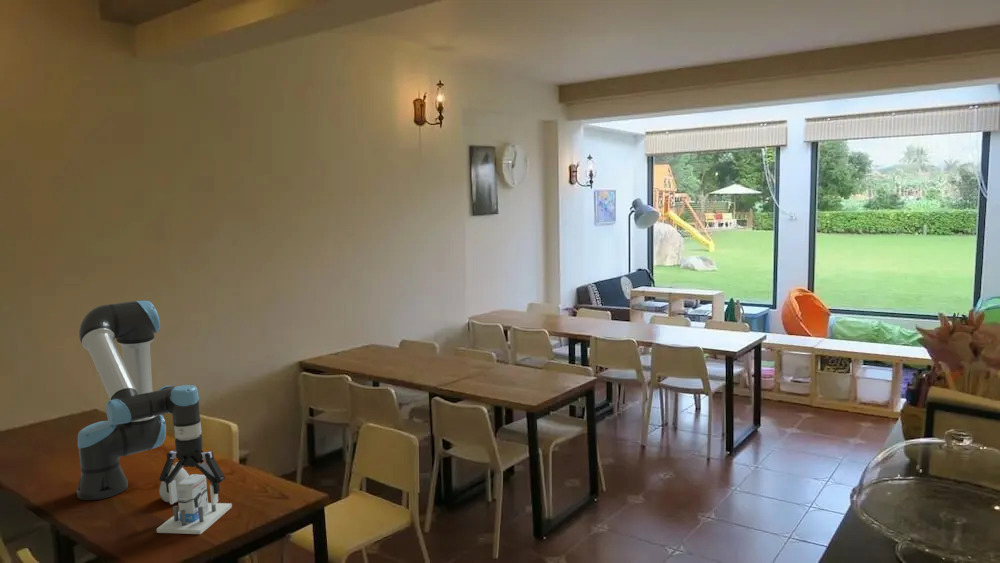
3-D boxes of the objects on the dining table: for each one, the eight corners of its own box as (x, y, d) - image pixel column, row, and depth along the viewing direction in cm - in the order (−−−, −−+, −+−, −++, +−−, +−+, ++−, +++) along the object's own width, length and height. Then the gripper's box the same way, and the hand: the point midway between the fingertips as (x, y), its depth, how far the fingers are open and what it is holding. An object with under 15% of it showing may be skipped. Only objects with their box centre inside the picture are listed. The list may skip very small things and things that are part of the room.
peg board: (156, 532, 206) (155, 514, 206) (191, 505, 224) (189, 489, 223) (200, 534, 204) (199, 515, 204) (231, 507, 222) (230, 490, 221)
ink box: (194, 522, 210) (190, 485, 208) (179, 521, 210) (175, 484, 209) (209, 509, 218) (206, 474, 217) (195, 509, 219) (192, 473, 217)
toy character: (169, 492, 235) (166, 458, 234) (200, 491, 235) (197, 457, 234) (153, 505, 225) (150, 470, 224) (185, 505, 225) (182, 469, 223)
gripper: (142, 440, 209) (149, 507, 212) (220, 441, 206) (225, 509, 208) (158, 431, 216) (164, 496, 219) (233, 432, 213) (238, 498, 216)
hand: (194, 503), depth 214 cm, fingers open, 13 cm apart
